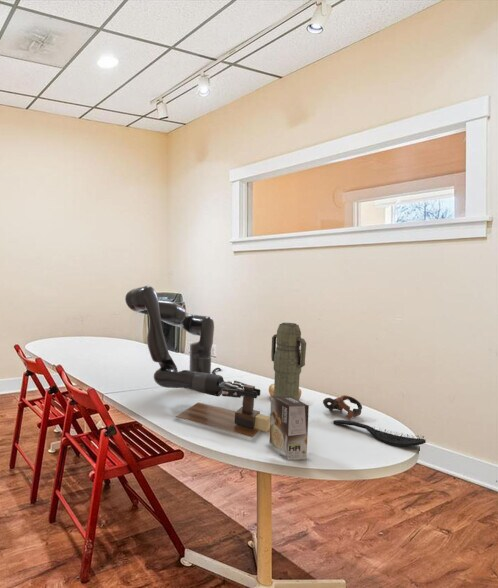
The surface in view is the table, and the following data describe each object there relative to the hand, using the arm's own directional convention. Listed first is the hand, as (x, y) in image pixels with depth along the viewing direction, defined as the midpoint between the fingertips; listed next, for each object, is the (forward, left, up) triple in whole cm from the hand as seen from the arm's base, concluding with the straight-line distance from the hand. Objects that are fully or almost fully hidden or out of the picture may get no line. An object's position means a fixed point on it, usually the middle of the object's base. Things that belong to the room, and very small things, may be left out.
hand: (258, 393), depth 134 cm
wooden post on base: (0, -3, -11) cm, 11 cm away
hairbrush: (-22, +30, -13) cm, 40 cm away
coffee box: (+11, +11, -13) cm, 20 cm away
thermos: (-20, +4, -13) cm, 24 cm away
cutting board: (0, -12, -13) cm, 17 cm away
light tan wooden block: (0, +2, -11) cm, 12 cm away
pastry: (-42, -1, -13) cm, 44 cm away
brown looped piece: (-37, +19, -13) cm, 44 cm away
